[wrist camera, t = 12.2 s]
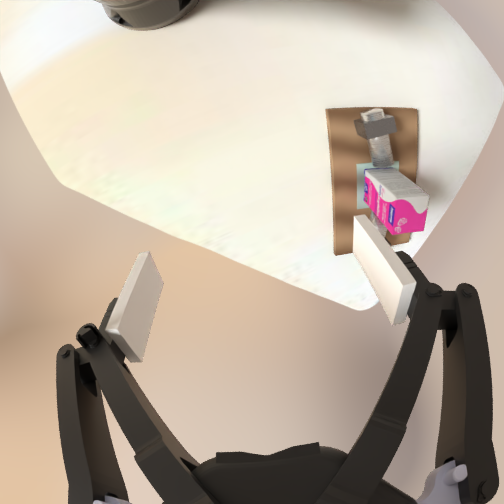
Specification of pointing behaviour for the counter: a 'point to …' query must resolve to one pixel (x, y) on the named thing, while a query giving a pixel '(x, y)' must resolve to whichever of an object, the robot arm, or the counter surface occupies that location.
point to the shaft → (379, 225)
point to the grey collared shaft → (377, 135)
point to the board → (364, 167)
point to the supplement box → (395, 200)
